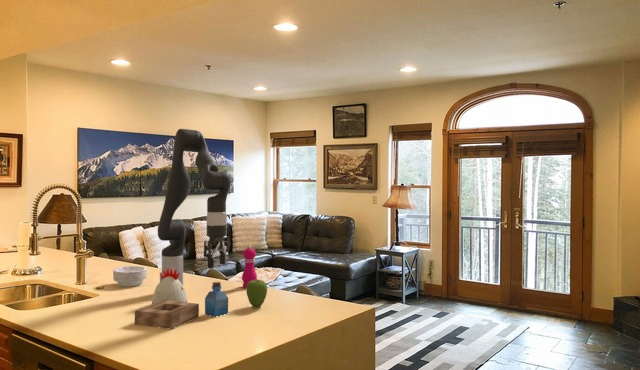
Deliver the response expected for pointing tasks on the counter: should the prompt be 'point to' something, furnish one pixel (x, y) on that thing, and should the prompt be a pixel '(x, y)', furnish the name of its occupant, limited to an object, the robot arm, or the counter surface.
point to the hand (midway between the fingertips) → (216, 266)
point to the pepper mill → (249, 266)
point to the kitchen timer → (169, 288)
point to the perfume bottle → (216, 301)
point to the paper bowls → (129, 275)
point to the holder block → (166, 314)
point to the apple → (256, 292)
